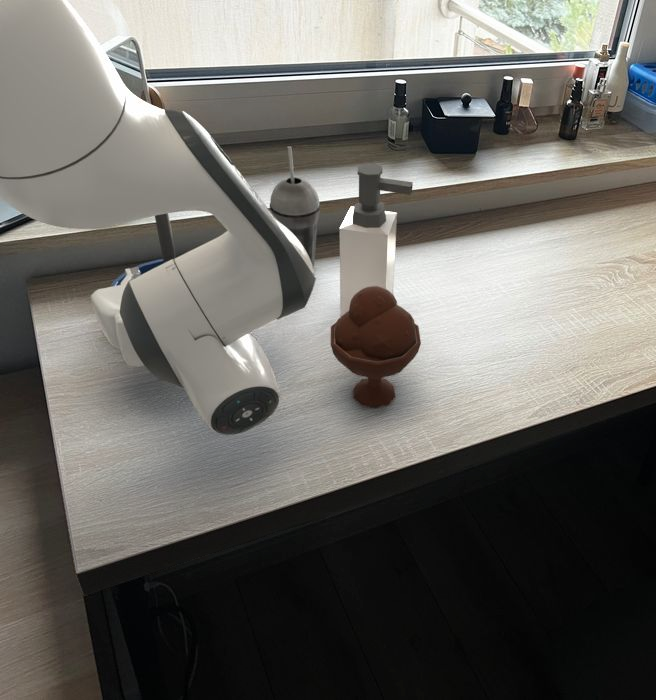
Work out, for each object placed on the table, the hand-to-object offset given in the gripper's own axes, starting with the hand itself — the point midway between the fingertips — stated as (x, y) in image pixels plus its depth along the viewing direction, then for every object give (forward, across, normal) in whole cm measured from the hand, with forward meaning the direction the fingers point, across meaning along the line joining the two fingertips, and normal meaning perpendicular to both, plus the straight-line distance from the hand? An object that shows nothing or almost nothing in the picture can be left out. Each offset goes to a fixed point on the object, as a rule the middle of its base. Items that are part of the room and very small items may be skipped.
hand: (172, 264), depth 90 cm
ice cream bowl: (-21, -18, +12) cm, 30 cm away
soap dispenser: (-4, -26, +12) cm, 29 cm away
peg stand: (+3, 0, +11) cm, 11 cm away
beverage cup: (+10, -20, +12) cm, 25 cm away
